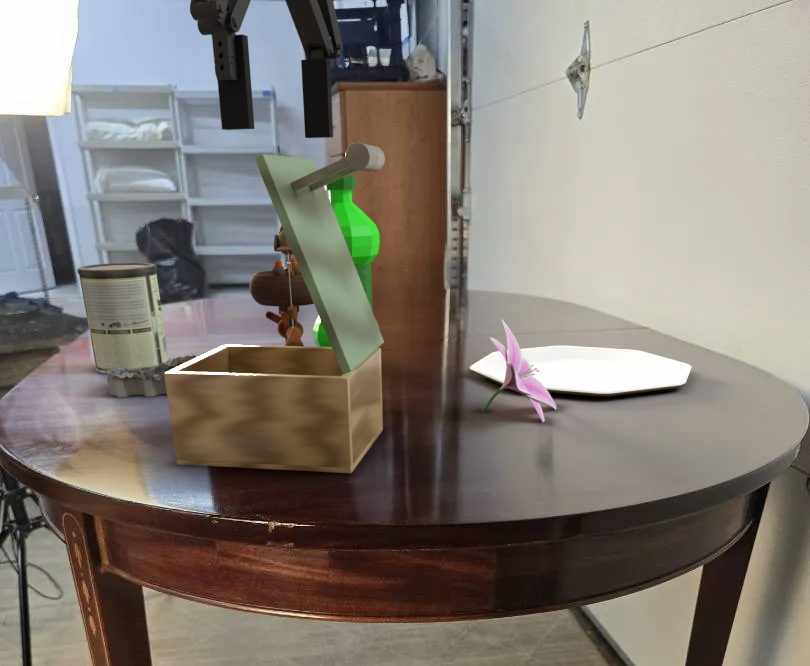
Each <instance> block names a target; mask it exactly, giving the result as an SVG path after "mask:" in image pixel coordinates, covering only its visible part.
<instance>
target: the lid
mask: <svg viewBox="0 0 810 666" xmlns="http://www.w3.org/2000/svg"><path fill="white" fill-rule="evenodd" d="M344 155H345V156H344V157H343V158H340V159H338V160H336V161H334V162H332V163H330V164H328V165H325V166H323V167H321V168H319V169H318V168H317V164H316V162H315V159H313V158H305V157H296V156H285V155H278V154H277V155H276V154H269V153H261V154H259V155H257V156H255V157H254V158H253V159H254V162H255V164H256V166H257V170H258V172H259V174H260V177H261V179H262V181H263V184H264V186H265V188H266V191H267V193H268V195H269V198H270V201H271V203H272V205H273V208H274V210H275V213H276V215H277V217H278V221H279V222H280V225H281V226H282V227H283V230H284V232H285V235H286V237H287V240H288V242H289V244H290V247H291V249H292V252H293V254H292V255H293V258H294V259H296V261H297V264H298V266H299V269H300V271H301V274H302V276H303V278H304V281H305V283H306V286H307V288H308V291H309V293H310V295H311V298H312V300H313V303H314V304H313V306H314V307H315V310H316V313H317V314H318V315H319V317H320V320H321V322H322V325H323V327H324V329H325V332H326V334H327V337H328V339H329V342H330V344H331V347H332V349H333V351H334V354H335V356H336V359H337V361H338V364H339V366H340V368H341V371H342V373H343V374H346V373H348V372H351V371H352V370H353V369H354V368H356V367H357V366H358V365H359V364H360V363H361V362H362V361H363V360H365V359H366V358H367V357H368V356H369V355H370V354H371V353H372V352H374V351H375V350H376V349H377V348H380V347H381V346H382V345H383V344H384V343H385V341H384V338H383V335H382V332H381V330H380V326H379V324H378V321H377V319H376V317H375V315H374V312H373V308H372V309H371V306H370V304H369V301H368V299H367V296H366V293H365V291H364V288H363V286H362V283H361V281H360V278H359V275H358V273H357V270H356V268H355V265H354V262H353V260H352V257H351V255H350V252H349V250H348V247H347V244H346V242H345V239H344V237H343V234H342V231H341V229H340V226H339V224H338V221H337V219H336V216H335V213H334V211H333V208H332V206H331V203H330V200H329V194H328V193H327V190H325V188H324V186H326V185H328V184H330V183H332V182H334V181H336V180H339V179H341V178H343V177H345V176H347V175H353V174H354V173H356V172H358V171H360V172H371V173H372V172H373V173H375V172H378V171H381V170H382V168H383V167H384V165H385V162H386V155H385V153H384V151H383V149H382V148H381V147H379V146H377V145H372V144H367V143H363V142H358V141H357V142H353V143H351V144H350V145H348V146H347V148H346V151H345V154H344ZM318 315H317V316H318ZM376 321H377V322H376ZM378 326H379V327H378Z"/></svg>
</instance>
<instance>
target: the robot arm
mask: <svg viewBox="0 0 810 666" xmlns="http://www.w3.org/2000/svg"><path fill="white" fill-rule="evenodd" d="M251 1H252V0H190V4H189V12H190V15H191V16H190V17H192V19H193V20H194V21H197V23H196V24H197V29H198V31H199V34H201V36H211V41H212V52H213V63H214V74H215V77H216V80H217V90H218V102H219V112H220V123H221V124H220V125H221V130H225V131H232V130H234V131H236V130H255V129H256V127H255V116H254V115H255V114H254V105H253V104H254V102H253V90H252V77H251V76H252V75H251V64H250V49H249V36H248V35H246V34H243V33H241V34H237V33H239V31H240V30H241V28H242V25H243V22H244V19H245V18H246V17H245V16H246V14H247V11H248V9H249V6H250V4H251ZM285 3H286V6H287V9H288V11H289V15H290V17H291V19H292V22H293V25H294V27H295V30H296V33H297V35H298V38H299V40H300V43H301V46H302V49H303V52H304V54H305V56H306V59H301V60H300V65H301V84H302V85H301V86H302V104H303V106H302V107H303V123H304V124H303V125H304V138H305V139H325V138H327V139H328V138H334V124H333V123H334V121H333V119H334V118H333V95H332V94H333V93H332V71H331V70H332V69H331V67H332V66H331V60H338V59H339V60H340V59H341V57H342V53H343V51H344V47H343V42H342V36H341V31H340V26H339V21H338V18H337V13H336V12H337V11H336V10H335V9H336V8H335V5H334V0H285Z"/></svg>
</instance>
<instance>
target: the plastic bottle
mask: <svg viewBox="0 0 810 666" xmlns="http://www.w3.org/2000/svg"><path fill="white" fill-rule="evenodd" d="M324 188H325V190H326V191H327V192H328V198H329V200H330V203H331V206H332V208H333V211H334V213H335V216H336V219H337V221H338V224H339V226H340V229H341V231H342V234H343V237H344V239H345V242H346V244H347V247H348V250H349V252H350V255H351V257H352V260H353V262H354V265H355V268H356V270H357V273H358V275H359V278H360V281H361V283H362V286H363V288H364V291H365V293H366V296H367V299H368V301H369V304H370V306H371V309H372V310H373V287H372V285H373V284H372V281H373V280H372V262H373V261H374V259H376V257H377V256H378V255H379V250H380V245H381V244H380V232H379V229H378V226H377V224H376V223H375V222H374V221H373V220H372V219H371V218H370V217H369V216H368V215H367V214H366V213H365V212H364V211H363V210H362V209H361V208H360V207H358V206H357V205H356V204H355V203H354V202H353V191H354V190H356V189H357V187H356V174H350V175H347V176H345V177H343V178H341V179H339V180H336V181H334V182H332V183H330V184H328V185H326V186H324ZM376 322H377V323H378V321H377V320H376ZM378 327H379V328H380V326H379V325H378ZM312 336H313V340H314V343H315V344H316V347H331V344H330V342H329V339H328V337H327V334H326V332H325V329H324V327H323V325H322V322H321V320H320V317H319V315H317V317H316V320H315V321H314V324H313V328H312Z"/></svg>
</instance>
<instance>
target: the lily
mask: <svg viewBox="0 0 810 666" xmlns="http://www.w3.org/2000/svg"><path fill="white" fill-rule="evenodd" d="M501 322H502V325H503V327H504V331H505V335H506V341H507V349H506V347H505V346H504V344H502V342H501V341H499V340H498V339H496V338H494V337H491V336H490V337H489V339H490V341H491V342H492V343H493V345H494V346H495V347H496V348H497V350H498V351H500V352H501V354H502V355H503V357H504V358H505V360H506V374H505V380H504V383H503V385H501V387H500V388H499V389H497V390H496V392H495V393H494V394H493V395H492V396H491V397H490V399H489V400H488V402H487V403H486V405H485V406H484V408H483V409H482V411H481V413H485V412H486V411H487V410H488V407H489V406H490V405H491V403H492V402H493V401H494V399H495V398H496V397H497V396H498V395H499V393H501V392H502V391H503V390H504V389H509V390H512V391H515V392H516V393H517V392H518V393H519V394H521V395H523V396H525V397H526V398H527V399H529V401H530V402H531V403H532V405H533V406H534V408H535V410H536V412H537V414H538V417H539V418H540V420H541V422H542V423H544V422H545V420H546V419H545V415H544V412H543V409H542V406H541V403H540V402H542V403H544V404H546V405H548V406H550V407H552V408H553V409H554V410H555V411H557V405H556V402H555V401H554V399H553V396H551V394H550V392H548V391H547V389H546V388H545V387H544V386H543V384H542V383H541V382H540V381H539V380H537V379H536V378H534V377H533V375H535V374H533V372H534V371H533V370H536V371H537V372H538V370H537V368H535V369H533V370H532V368H531V367H532V366H533V365H532V366H530V364H529V362H528V361H527V360H526V359H525V358H523V357H522V354H521V350H520V349H521V347H520V345H519V343H518V340H517V338H516V337H515V335H514V333H513V331H512V330H511V329H510V328H509V326H508V324H507V323H506V322H505V320H504V319H501ZM506 350H508V356H507V351H506ZM507 361H508V362H507ZM532 371H533V372H532ZM539 371H540V370H539Z"/></svg>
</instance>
